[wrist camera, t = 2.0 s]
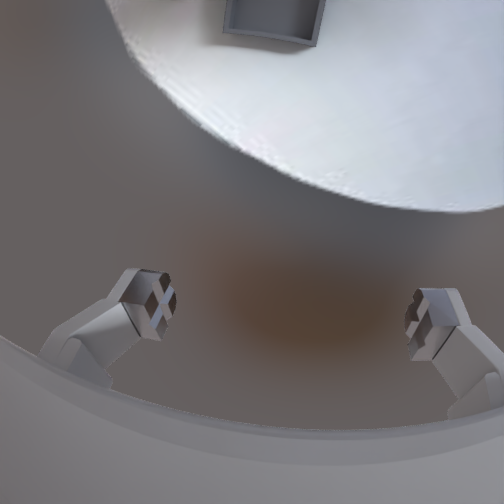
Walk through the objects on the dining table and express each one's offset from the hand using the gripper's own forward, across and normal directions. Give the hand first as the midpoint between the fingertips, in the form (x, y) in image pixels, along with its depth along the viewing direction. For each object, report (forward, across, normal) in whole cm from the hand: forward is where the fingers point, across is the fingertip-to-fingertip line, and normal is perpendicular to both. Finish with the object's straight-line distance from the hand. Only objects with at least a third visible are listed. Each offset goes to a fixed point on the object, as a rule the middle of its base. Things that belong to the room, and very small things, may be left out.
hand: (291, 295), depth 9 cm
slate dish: (+28, +2, -16) cm, 32 cm away
